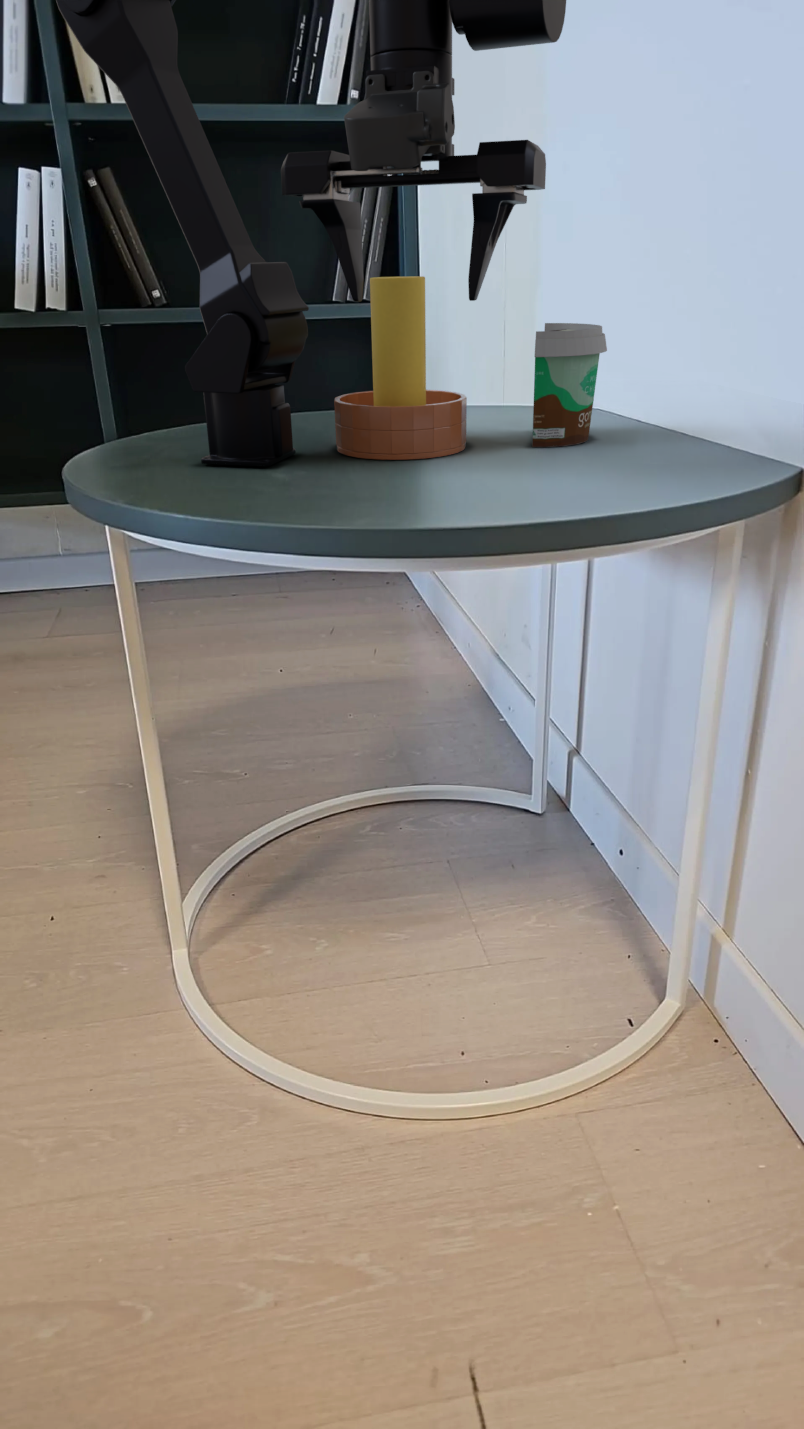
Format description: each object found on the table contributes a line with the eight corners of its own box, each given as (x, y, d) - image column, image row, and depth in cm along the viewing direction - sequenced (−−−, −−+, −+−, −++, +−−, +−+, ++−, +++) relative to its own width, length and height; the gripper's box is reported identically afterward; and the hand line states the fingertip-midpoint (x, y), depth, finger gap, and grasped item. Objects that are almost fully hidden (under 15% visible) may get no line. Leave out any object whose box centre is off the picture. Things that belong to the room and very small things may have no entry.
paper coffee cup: (599, 451, 86) (608, 331, 82) (530, 449, 87) (535, 331, 83) (602, 428, 97) (609, 322, 93) (540, 428, 98) (545, 322, 94)
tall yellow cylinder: (396, 448, 86) (392, 277, 80) (364, 442, 90) (358, 277, 84) (436, 442, 89) (436, 276, 83) (404, 436, 92) (401, 276, 86)
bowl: (317, 457, 86) (314, 405, 84) (361, 435, 96) (359, 388, 94) (447, 462, 83) (447, 408, 81) (478, 438, 93) (478, 390, 91)
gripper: (239, 47, 63) (259, 307, 69) (522, 22, 58) (514, 305, 64) (303, 74, 72) (315, 300, 79) (551, 55, 67) (541, 298, 74)
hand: (414, 300), depth 74 cm, fingers open, 9 cm apart
